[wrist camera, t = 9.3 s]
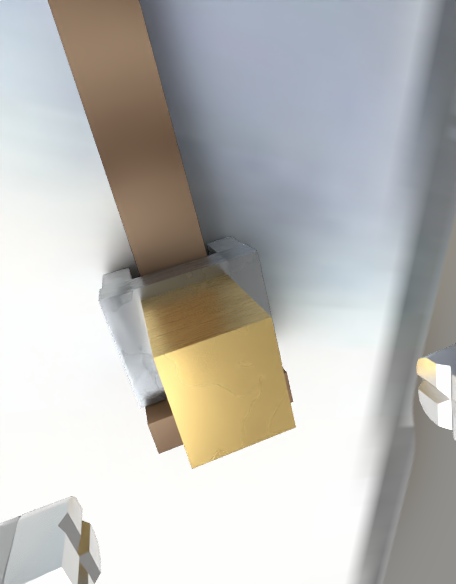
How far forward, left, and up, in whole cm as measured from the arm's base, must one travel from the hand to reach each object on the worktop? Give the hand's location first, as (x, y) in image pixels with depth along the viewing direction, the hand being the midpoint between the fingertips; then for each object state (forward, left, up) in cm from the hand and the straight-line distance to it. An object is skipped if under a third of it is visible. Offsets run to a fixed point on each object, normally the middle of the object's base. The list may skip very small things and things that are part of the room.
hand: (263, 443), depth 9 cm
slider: (+1, 0, -12) cm, 12 cm away
